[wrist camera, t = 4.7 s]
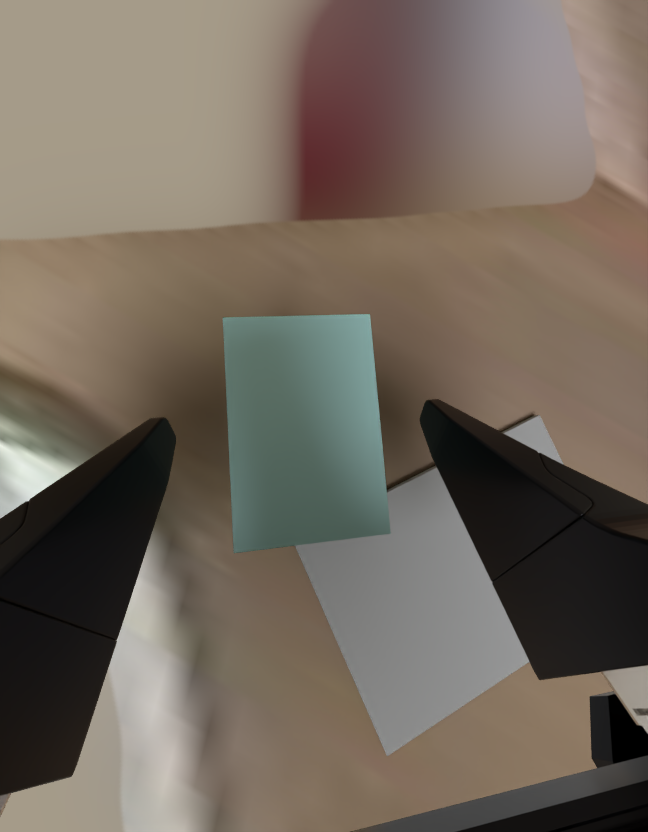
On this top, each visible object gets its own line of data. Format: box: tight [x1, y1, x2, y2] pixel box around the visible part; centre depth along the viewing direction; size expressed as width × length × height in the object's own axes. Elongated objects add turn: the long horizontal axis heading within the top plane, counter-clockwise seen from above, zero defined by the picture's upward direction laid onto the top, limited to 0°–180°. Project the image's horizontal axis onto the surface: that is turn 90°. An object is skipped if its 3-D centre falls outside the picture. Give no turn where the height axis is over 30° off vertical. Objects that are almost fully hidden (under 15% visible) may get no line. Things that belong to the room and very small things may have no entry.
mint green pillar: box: [223, 314, 391, 553], centre depth 11 cm, size 4×6×9 cm, turn 4°
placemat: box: [295, 415, 564, 756], centre depth 16 cm, size 18×13×1 cm
